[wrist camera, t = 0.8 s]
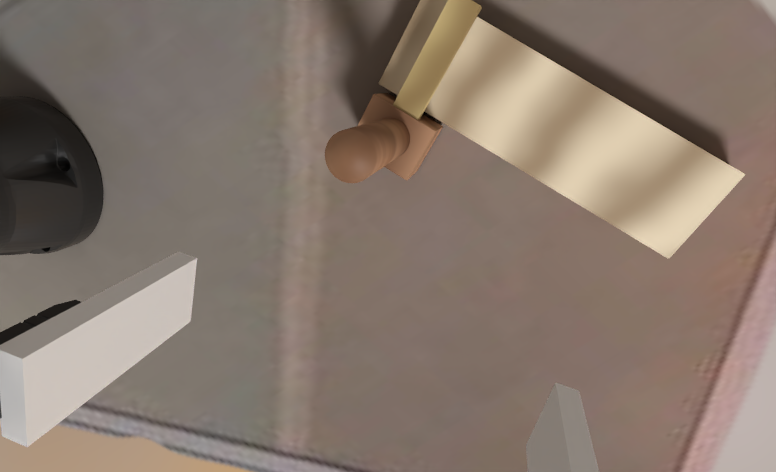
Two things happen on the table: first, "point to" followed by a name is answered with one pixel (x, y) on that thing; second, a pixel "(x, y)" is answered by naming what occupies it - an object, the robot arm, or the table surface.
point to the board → (568, 133)
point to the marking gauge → (402, 109)
